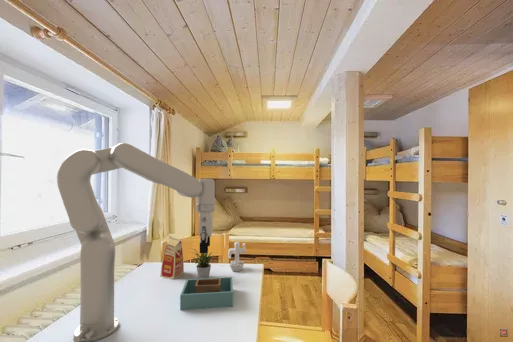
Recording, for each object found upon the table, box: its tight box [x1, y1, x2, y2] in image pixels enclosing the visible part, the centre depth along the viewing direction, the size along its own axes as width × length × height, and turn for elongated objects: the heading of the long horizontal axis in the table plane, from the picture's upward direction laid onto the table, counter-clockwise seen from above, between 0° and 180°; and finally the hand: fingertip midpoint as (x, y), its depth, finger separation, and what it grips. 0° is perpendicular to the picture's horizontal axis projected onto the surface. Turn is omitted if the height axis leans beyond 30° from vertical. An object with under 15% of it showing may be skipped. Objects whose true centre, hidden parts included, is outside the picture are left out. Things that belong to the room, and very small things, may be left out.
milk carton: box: [159, 235, 185, 280], centre depth 129 cm, size 9×9×20 cm
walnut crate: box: [195, 277, 221, 293], centre depth 104 cm, size 7×10×6 cm, turn 96°
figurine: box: [227, 241, 247, 272], centre depth 136 cm, size 7×9×15 cm
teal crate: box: [179, 276, 234, 311], centre depth 104 cm, size 15×20×6 cm
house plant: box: [190, 247, 214, 279], centre depth 126 cm, size 14×14×16 cm
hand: (204, 249), depth 104 cm, fingers open, 9 cm apart
